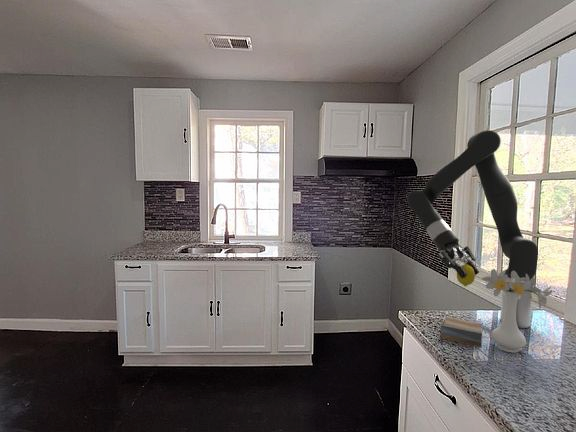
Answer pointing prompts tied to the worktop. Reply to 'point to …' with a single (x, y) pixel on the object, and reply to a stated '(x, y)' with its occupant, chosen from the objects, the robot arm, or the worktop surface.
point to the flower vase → (512, 307)
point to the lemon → (469, 277)
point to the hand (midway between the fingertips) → (470, 275)
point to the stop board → (462, 331)
